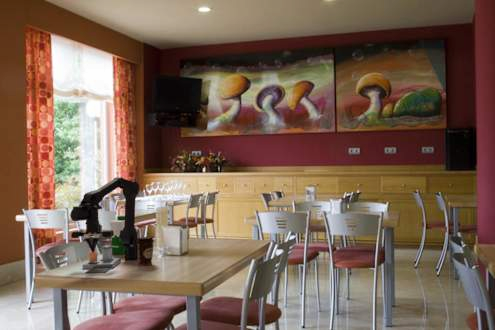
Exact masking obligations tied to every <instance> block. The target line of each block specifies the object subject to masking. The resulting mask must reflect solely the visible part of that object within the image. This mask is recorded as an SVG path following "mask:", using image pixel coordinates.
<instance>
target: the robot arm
mask: <svg viewBox="0 0 495 330" xmlns="http://www.w3.org/2000/svg"><path fill="white" fill-rule="evenodd" d="M118 188H119V189H121V190H122V195H123V197H124V199H125V200H124V201H125V202H124V204H125V205H124V216H125V226H124V229H123V230H120V240H121V242H122V245H123V247H125V249H126V250H124V253H125V254H124V260H125V261H126V260H128V261H133V260H135V261H136V260H139V258H138V246H137V243H136V241H137V240H138V238H139V237H138V231H137V229H136V228H135V221H136V220H135V218H136V217H135V216H136V215H135V214H136V199H137V196H138V195H139V192H140V184H139V183H138V181H135V180H134V181H133V180H130V179H126V178H123V177H114V178H113V179H112V180H111V181H110V180H109V182H107V183H106V184H104V185H102V186H101V187H99V188H97V189H95V190H90V191H88V192H86V193H84V195H83V198H82V200H81V201H80V204H79V205H78V206H73V207H72V209H71V211H70V214H69V216H70V219H71V221H73V222H82V221H85V227H86V229H85V231H84V230H73V231H72V232H71V233H70V236H71V239H78V238H79V237H83V240H85V241H86V244H88V247H89V248H90V249H89V250H90V252H96V248H97V244H98V242H99V240H100V239H102V237H103V238H111V237H112V236H114V232H113V230H111V229H105V230H102V229H103V226H102V224H100V220H99V210H102V209H103V207H102V206H100V203H101V202H102V201H103V200H104V197H106V196H107V195H109V194H110V193H111V192H113V191H115V190H117V189H118Z"/></svg>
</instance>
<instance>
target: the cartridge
mask: <svg viewBox="0 0 495 330" xmlns="http://www.w3.org/2000/svg"><path fill="white" fill-rule="evenodd" d="M101 251H102V252H101V253H102V254H101V258H102V261H112V258H113V254H112V246H111V245H103V246H101Z"/></svg>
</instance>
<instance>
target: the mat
mask: <svg viewBox="0 0 495 330" xmlns="http://www.w3.org/2000/svg"><path fill="white" fill-rule="evenodd" d="M111 269H112V268H91V269H87V271H85V274H106V273H107V272H108V271H110V270H111Z"/></svg>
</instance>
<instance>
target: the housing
mask: <svg viewBox="0 0 495 330" xmlns="http://www.w3.org/2000/svg"><path fill="white" fill-rule="evenodd" d="M121 262H122V258H121V257H112V261H102V257H101V258H98V257H97V262H89V260H88V261H86V262H84V263H83V264H82V270H90V269H91V268H111V269H114V268H115V267H116V266H118V265H119V264H120V263H121Z"/></svg>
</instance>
